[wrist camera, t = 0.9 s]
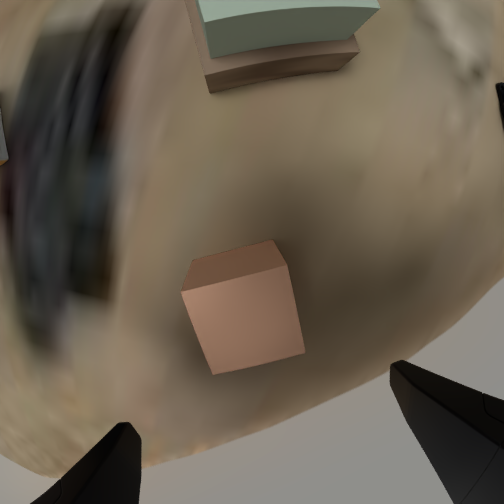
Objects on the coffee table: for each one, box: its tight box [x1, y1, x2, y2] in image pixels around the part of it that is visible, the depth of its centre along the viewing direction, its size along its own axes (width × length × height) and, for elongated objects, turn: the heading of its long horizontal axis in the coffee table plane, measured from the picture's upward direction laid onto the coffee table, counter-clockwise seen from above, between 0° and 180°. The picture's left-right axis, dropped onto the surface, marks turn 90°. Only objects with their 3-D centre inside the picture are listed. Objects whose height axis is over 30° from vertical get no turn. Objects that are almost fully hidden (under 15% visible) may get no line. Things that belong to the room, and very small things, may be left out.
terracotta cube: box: [181, 239, 306, 375], centre depth 17 cm, size 5×5×5 cm
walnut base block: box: [185, 0, 360, 93], centre depth 13 cm, size 8×8×4 cm
